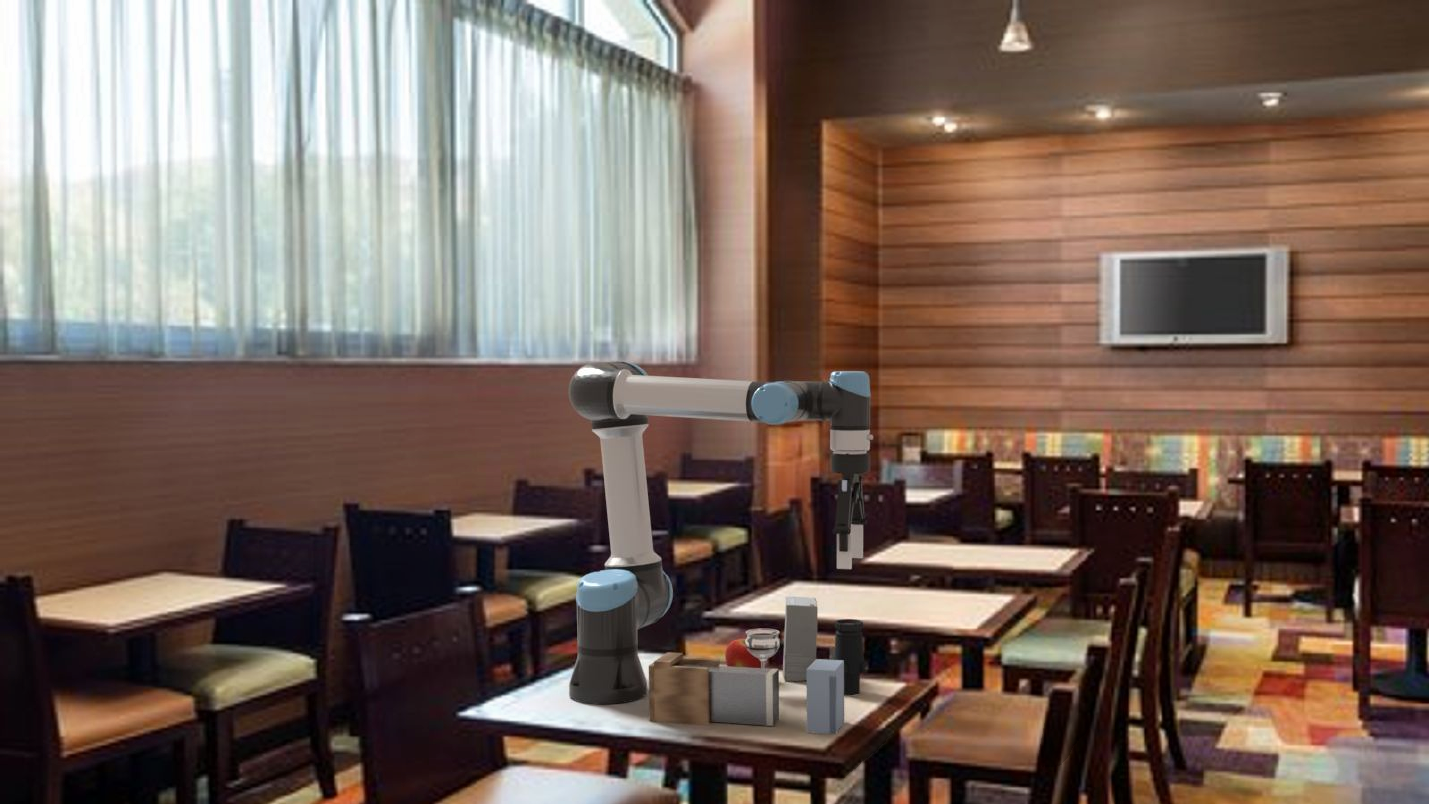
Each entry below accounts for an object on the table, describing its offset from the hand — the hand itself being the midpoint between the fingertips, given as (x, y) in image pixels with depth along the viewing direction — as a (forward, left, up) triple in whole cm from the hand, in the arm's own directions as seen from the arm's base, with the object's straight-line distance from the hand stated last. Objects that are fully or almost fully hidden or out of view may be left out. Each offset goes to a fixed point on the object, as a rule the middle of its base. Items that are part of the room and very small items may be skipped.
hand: (850, 563), depth 252 cm
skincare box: (-13, +13, -26) cm, 32 cm away
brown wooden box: (-26, -22, -26) cm, 43 cm away
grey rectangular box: (-20, -22, -26) cm, 39 cm away
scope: (-2, +3, -26) cm, 26 cm away
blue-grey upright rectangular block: (0, -22, -26) cm, 34 cm away
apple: (-23, +7, -26) cm, 35 cm away
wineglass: (-17, -2, -26) cm, 31 cm away
